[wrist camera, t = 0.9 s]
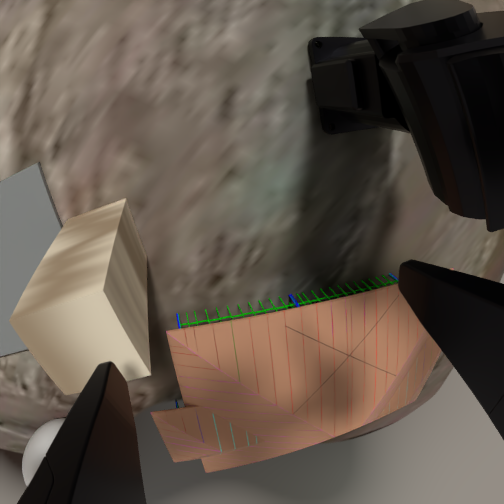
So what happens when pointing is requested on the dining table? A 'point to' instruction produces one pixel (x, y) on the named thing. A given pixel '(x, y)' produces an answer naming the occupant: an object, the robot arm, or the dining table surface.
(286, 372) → the house
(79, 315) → the birch block
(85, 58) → the dining table surface
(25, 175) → the slate mat
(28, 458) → the donut
